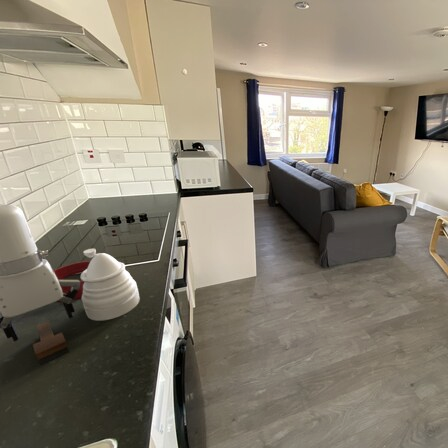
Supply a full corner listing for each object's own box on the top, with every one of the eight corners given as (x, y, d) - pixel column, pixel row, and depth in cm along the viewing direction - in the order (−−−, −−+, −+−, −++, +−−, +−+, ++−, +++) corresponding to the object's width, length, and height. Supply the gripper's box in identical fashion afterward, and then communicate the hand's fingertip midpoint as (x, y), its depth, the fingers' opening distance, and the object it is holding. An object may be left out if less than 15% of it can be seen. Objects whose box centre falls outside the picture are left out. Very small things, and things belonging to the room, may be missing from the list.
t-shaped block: (32, 339, 63) (28, 329, 62) (59, 328, 67) (55, 318, 66) (40, 365, 57) (35, 354, 56) (69, 351, 60) (65, 340, 59)
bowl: (34, 305, 75) (27, 289, 73) (66, 277, 89) (61, 262, 87) (94, 299, 78) (89, 283, 76) (116, 272, 92) (112, 258, 90)
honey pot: (80, 326, 68) (59, 265, 61) (92, 298, 78) (75, 244, 72) (138, 312, 73) (123, 255, 67) (141, 287, 84) (129, 236, 77)
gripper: (64, 244, 64) (85, 302, 71) (-47, 272, 52) (-11, 339, 58) (72, 254, 60) (92, 314, 66) (-49, 287, 48) (-9, 357, 54)
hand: (44, 326), depth 62 cm, fingers open, 9 cm apart
